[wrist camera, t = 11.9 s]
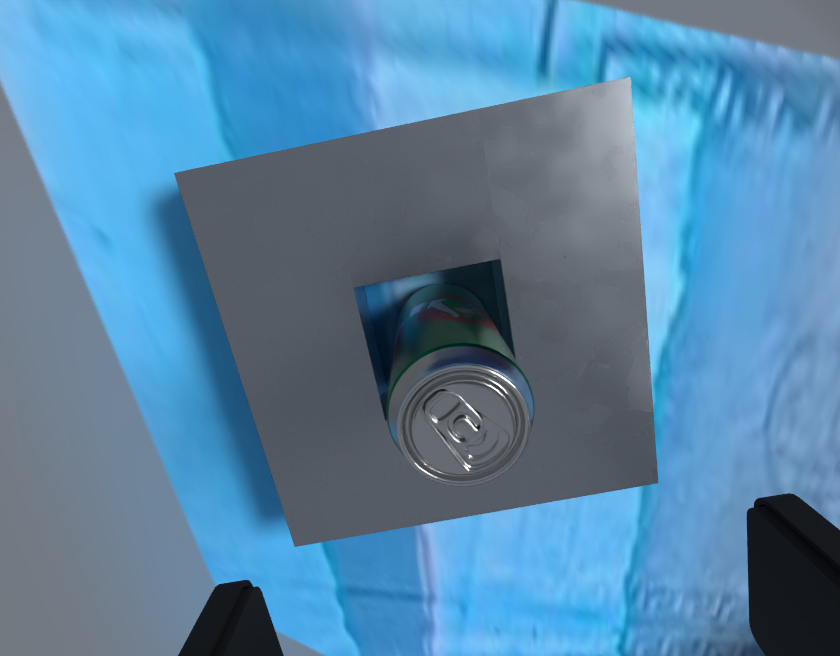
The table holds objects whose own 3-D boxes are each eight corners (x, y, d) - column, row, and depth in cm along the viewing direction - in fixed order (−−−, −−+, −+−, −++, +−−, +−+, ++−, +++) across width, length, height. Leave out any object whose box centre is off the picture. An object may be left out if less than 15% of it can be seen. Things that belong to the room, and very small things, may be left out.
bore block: (599, 92, 24) (630, 77, 20) (629, 448, 29) (658, 482, 26) (206, 175, 25) (174, 173, 21) (308, 506, 30) (294, 546, 27)
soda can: (440, 385, 28) (458, 524, 16) (378, 324, 27) (351, 427, 15) (506, 327, 27) (575, 430, 15) (444, 261, 26) (469, 320, 14)
